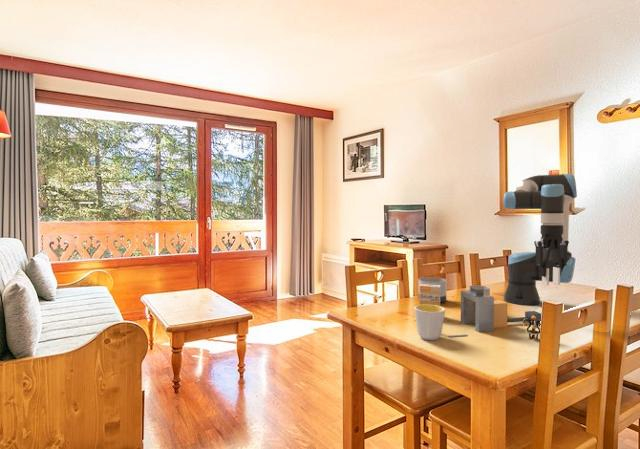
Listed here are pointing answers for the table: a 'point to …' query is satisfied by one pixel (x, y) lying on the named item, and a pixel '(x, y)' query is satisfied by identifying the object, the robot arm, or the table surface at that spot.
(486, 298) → the housing
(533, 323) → the figurine
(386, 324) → the table surface
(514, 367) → the table surface
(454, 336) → the bay
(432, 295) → the supplement box
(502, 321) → the plug
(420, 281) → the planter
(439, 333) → the mug
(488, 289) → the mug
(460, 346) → the table surface
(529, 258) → the robot arm
